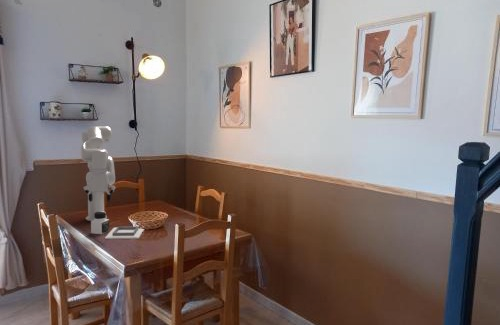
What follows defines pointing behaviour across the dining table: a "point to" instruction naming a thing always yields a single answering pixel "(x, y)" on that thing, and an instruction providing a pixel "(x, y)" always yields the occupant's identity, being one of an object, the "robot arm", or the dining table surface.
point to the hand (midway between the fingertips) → (99, 201)
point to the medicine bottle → (100, 223)
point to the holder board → (125, 233)
